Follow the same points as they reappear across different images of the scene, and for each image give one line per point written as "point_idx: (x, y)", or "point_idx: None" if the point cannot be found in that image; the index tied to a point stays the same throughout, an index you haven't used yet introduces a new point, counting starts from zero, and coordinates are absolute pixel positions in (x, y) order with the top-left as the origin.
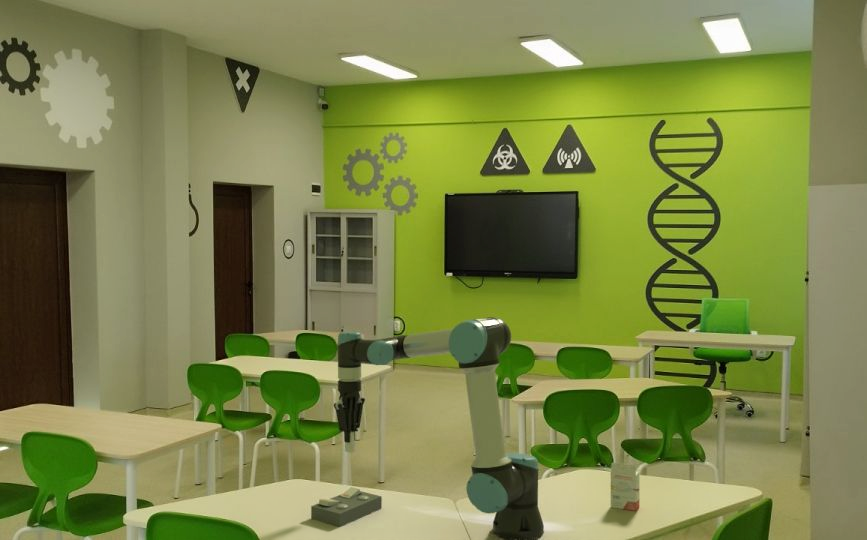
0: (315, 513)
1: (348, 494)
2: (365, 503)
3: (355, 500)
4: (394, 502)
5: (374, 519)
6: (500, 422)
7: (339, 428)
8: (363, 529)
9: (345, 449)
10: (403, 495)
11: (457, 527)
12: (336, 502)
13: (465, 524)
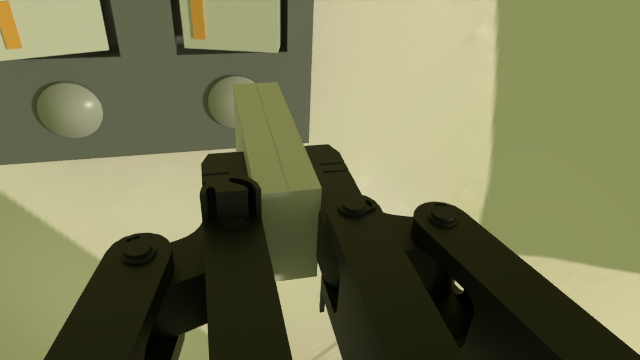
0: None
1: (209, 24)
2: (193, 150)
3: (187, 93)
4: (383, 110)
5: (186, 175)
6: None
7: (99, 275)
8: (80, 213)
9: (234, 96)
10: (471, 84)
11: (295, 355)
12: (80, 51)
13: (325, 354)
